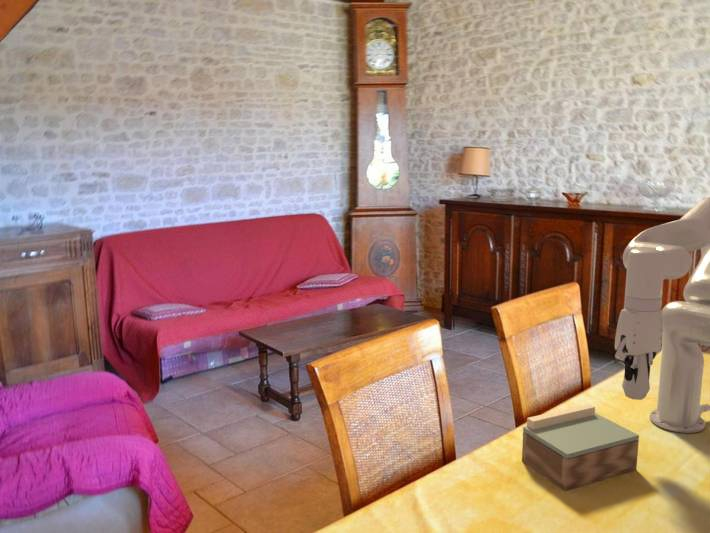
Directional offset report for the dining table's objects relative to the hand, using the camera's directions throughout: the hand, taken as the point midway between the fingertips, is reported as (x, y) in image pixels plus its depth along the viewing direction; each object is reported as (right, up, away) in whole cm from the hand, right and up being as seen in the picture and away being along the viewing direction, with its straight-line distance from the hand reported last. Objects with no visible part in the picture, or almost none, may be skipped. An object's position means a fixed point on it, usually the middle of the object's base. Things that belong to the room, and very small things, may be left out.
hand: (636, 381), depth 146 cm
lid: (-14, -11, -4) cm, 19 cm away
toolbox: (-14, -18, -3) cm, 23 cm away
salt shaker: (0, -4, +1) cm, 4 cm away
